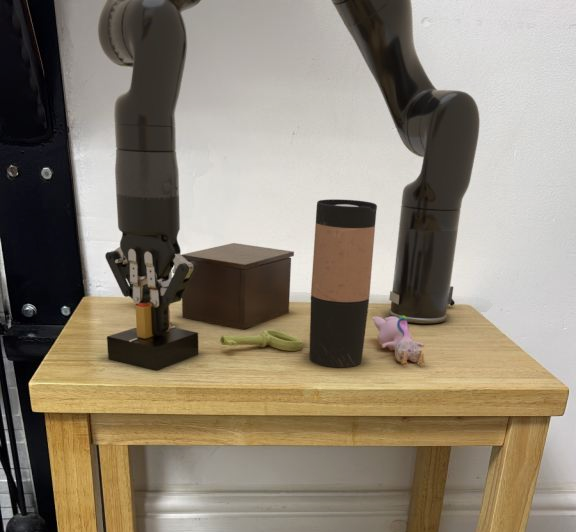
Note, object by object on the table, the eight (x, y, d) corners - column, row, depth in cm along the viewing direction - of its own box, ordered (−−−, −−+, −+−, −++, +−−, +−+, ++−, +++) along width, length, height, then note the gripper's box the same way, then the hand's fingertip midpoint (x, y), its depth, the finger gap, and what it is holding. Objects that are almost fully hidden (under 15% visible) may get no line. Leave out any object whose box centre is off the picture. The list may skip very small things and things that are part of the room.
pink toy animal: (432, 375, 106) (398, 329, 118) (441, 334, 103) (405, 290, 114) (389, 376, 105) (359, 329, 116) (396, 335, 101) (364, 290, 113)
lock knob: (161, 329, 105) (159, 297, 103) (169, 331, 104) (168, 298, 102) (136, 337, 101) (135, 304, 99) (145, 338, 100) (143, 305, 98)
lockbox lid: (233, 247, 130) (233, 242, 129) (293, 256, 125) (294, 251, 125) (181, 259, 119) (181, 254, 118) (245, 269, 114) (245, 264, 113)
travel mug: (299, 353, 108) (306, 199, 99) (349, 350, 110) (361, 199, 101) (320, 370, 102) (331, 206, 92) (373, 366, 104) (388, 206, 95)
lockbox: (230, 302, 133) (230, 248, 129) (288, 312, 128) (291, 257, 124) (182, 317, 123) (181, 259, 119) (244, 329, 118) (245, 269, 114)
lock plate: (152, 343, 109) (151, 321, 108) (199, 354, 106) (198, 331, 104) (107, 359, 102) (106, 335, 100) (156, 370, 98) (155, 346, 97)
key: (216, 351, 107) (216, 336, 106) (275, 336, 115) (276, 321, 114) (255, 363, 103) (255, 347, 102) (313, 346, 111) (314, 332, 110)
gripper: (212, 194, 94) (212, 336, 102) (124, 184, 100) (131, 319, 108) (174, 198, 88) (177, 348, 96) (83, 187, 94) (93, 330, 102)
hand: (153, 332), depth 102 cm, fingers closed
